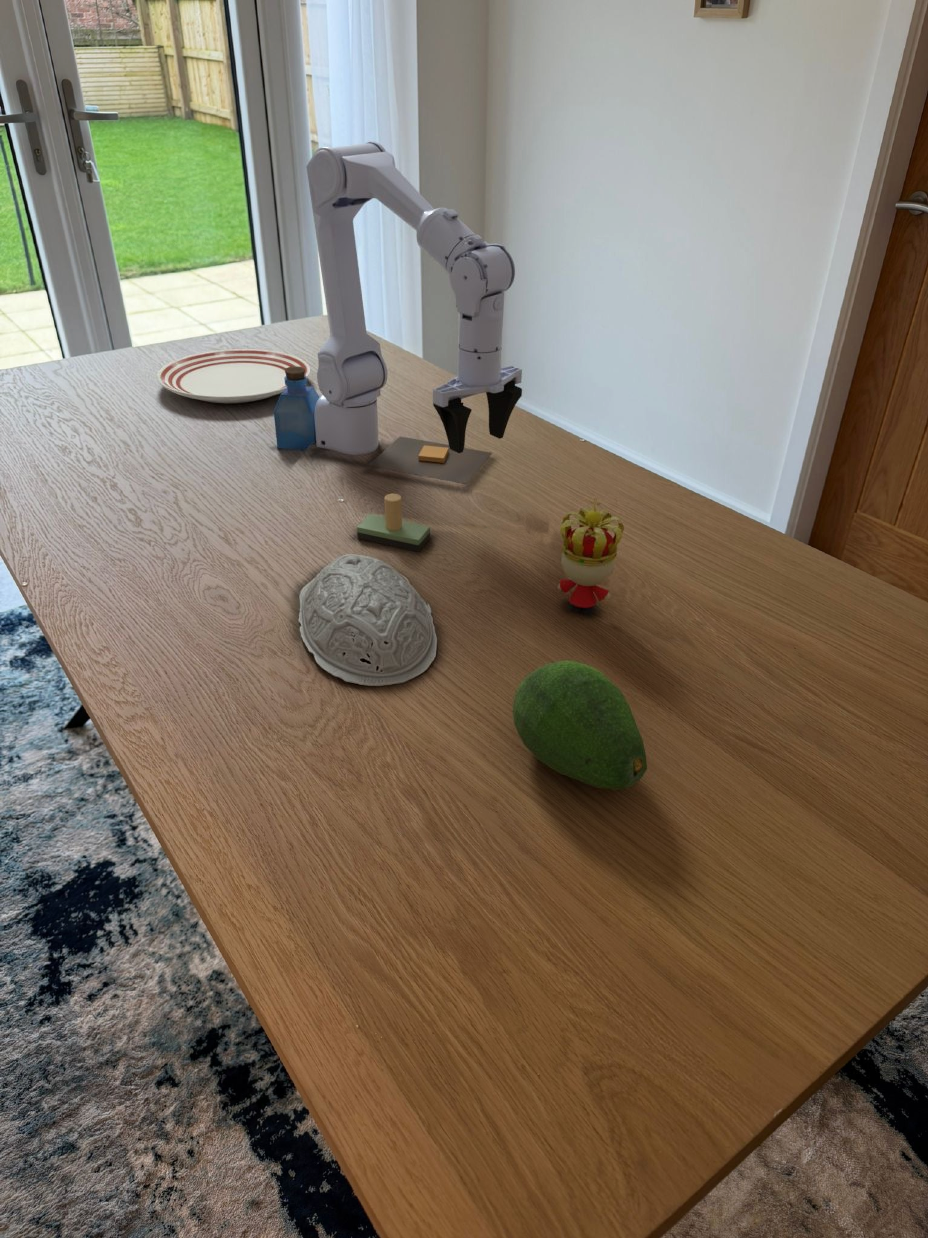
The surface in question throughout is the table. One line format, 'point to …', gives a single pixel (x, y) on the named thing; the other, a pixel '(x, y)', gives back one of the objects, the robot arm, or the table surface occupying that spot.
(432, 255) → the robot arm
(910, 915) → the table surface
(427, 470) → the tray
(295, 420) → the perfume bottle
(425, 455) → the orange flat square block
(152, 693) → the table surface
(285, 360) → the dinner plate
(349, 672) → the grey turtle shell
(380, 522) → the brush
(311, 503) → the table surface
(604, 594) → the toy
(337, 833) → the table surface
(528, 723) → the fruit
